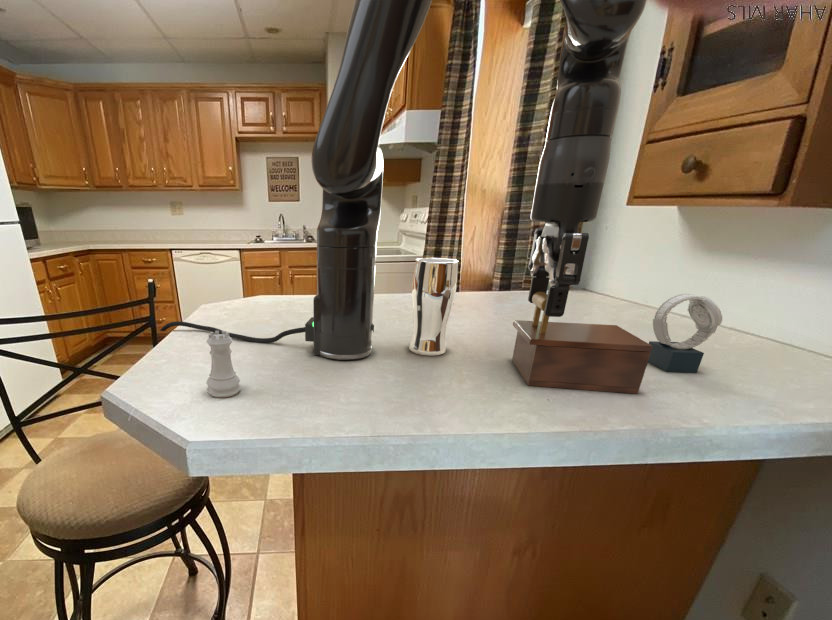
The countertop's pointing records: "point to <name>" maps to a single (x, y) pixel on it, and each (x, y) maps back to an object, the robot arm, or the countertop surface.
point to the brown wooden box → (580, 367)
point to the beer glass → (432, 303)
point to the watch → (682, 353)
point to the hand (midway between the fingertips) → (544, 309)
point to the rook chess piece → (221, 367)
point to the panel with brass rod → (575, 332)
